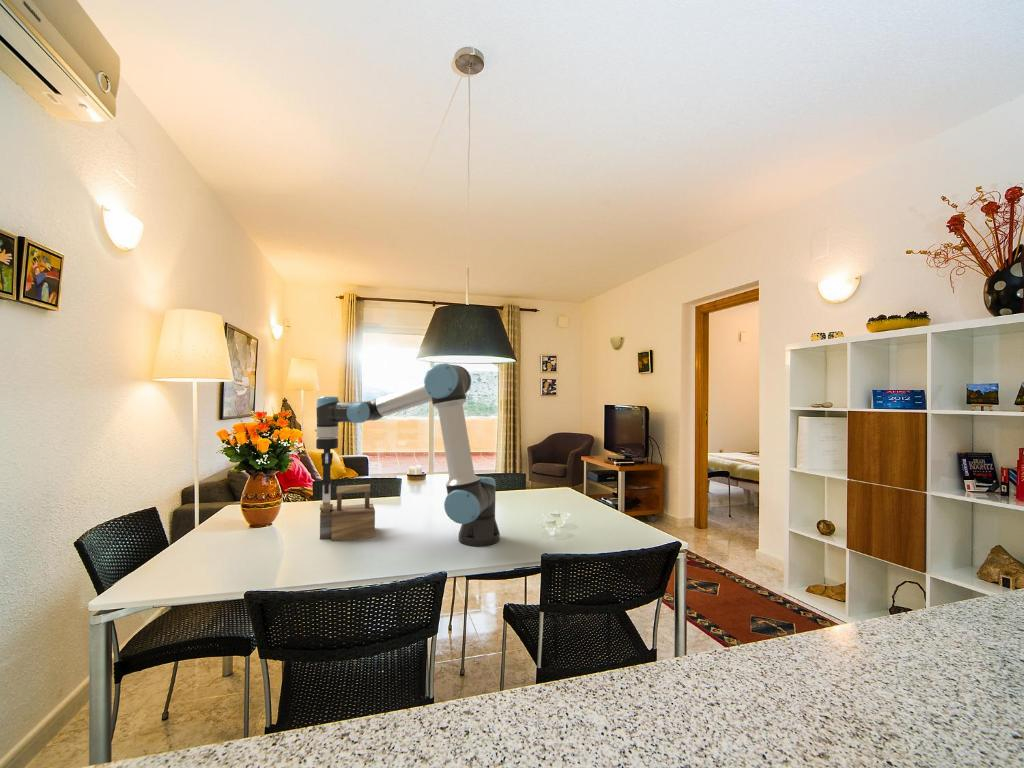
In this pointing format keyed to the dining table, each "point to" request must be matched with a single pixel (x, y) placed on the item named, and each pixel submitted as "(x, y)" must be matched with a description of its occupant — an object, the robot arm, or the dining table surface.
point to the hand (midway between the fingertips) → (326, 501)
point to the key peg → (326, 507)
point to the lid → (351, 510)
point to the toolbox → (347, 527)
